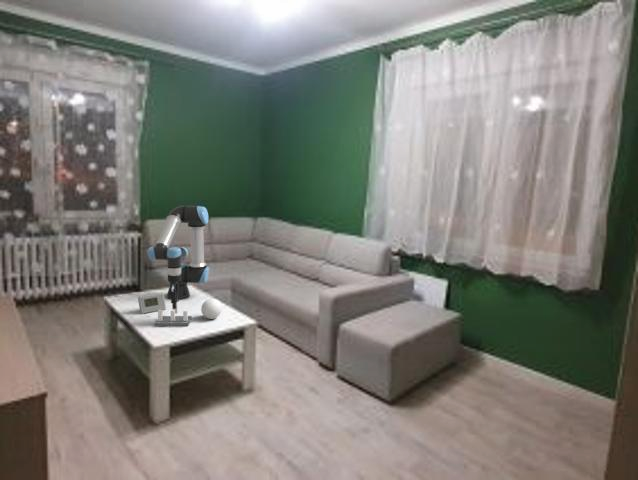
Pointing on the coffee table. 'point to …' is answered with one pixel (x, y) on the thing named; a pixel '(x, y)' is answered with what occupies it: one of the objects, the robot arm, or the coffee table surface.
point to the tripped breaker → (172, 315)
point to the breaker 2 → (185, 315)
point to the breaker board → (172, 322)
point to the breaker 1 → (160, 315)
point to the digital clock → (151, 303)
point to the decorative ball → (211, 308)
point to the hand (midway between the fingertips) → (174, 313)
